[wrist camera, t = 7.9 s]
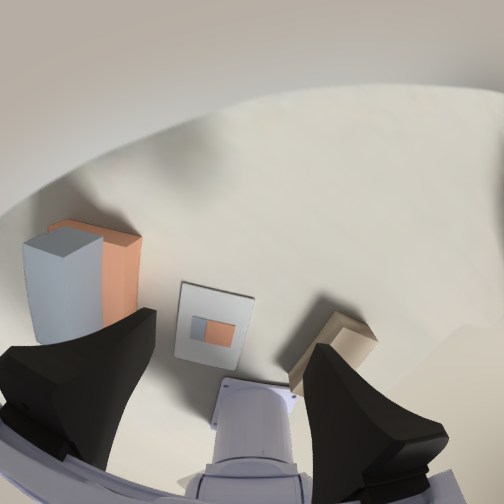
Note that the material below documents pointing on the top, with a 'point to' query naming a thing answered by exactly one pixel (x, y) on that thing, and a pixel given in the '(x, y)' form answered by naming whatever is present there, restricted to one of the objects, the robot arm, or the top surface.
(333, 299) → the top surface
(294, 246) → the top surface
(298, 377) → the brick
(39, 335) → the top brick
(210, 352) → the page
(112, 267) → the base brick
